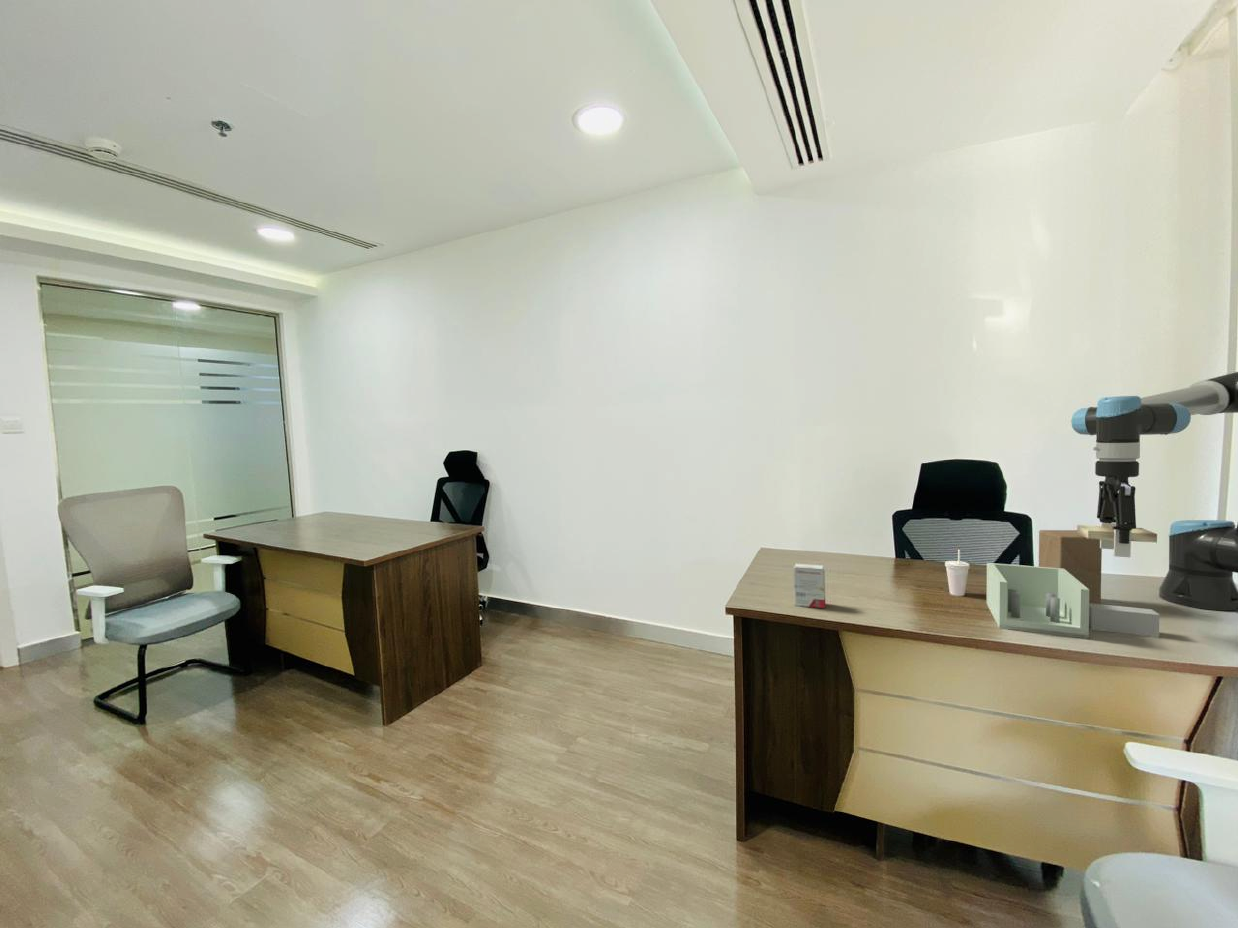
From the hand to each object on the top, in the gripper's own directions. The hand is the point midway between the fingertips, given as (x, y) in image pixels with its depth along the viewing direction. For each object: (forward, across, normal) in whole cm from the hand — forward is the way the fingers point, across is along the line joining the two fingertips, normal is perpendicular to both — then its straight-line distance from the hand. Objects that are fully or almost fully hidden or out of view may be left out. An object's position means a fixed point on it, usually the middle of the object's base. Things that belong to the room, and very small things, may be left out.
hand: (1114, 552), depth 122 cm
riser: (+19, 0, +2) cm, 20 cm away
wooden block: (+20, -21, -3) cm, 29 cm away
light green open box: (+19, 0, -15) cm, 25 cm away
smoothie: (+20, -17, -30) cm, 40 cm away
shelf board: (-4, 0, 0) cm, 4 cm away
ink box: (+20, +9, -70) cm, 73 cm away
